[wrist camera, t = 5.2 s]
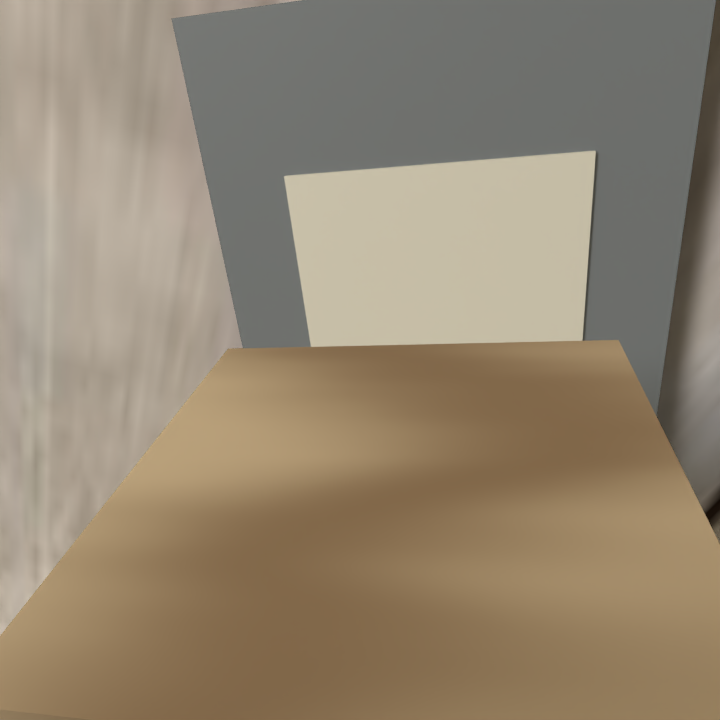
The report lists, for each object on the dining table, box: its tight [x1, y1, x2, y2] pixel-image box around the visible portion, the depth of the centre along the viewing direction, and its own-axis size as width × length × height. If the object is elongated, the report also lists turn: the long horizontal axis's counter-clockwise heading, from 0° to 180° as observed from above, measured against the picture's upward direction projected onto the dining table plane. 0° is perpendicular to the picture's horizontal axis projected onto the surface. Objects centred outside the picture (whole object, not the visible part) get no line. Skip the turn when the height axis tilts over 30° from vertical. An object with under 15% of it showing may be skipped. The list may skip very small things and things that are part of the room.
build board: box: [172, 0, 716, 417], centre depth 16 cm, size 11×14×1 cm
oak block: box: [0, 340, 720, 720], centre depth 7 cm, size 5×5×5 cm
